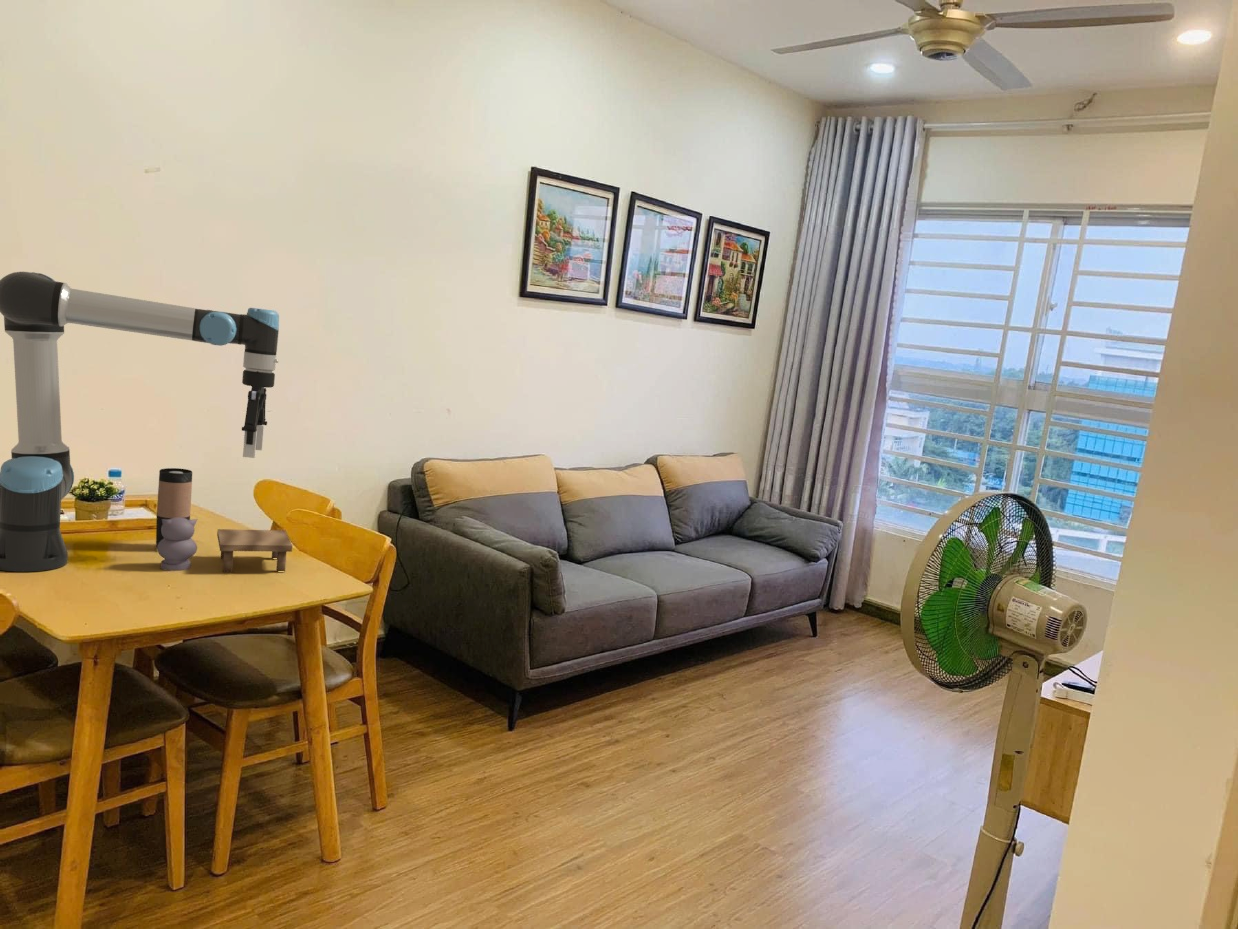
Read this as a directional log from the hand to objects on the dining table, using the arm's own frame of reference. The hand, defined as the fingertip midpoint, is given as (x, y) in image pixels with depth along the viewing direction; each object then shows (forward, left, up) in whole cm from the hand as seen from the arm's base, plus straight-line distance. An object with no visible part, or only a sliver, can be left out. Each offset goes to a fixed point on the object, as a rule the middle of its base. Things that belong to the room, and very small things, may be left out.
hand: (252, 453), depth 232 cm
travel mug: (-17, +4, -26) cm, 32 cm away
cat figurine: (-16, -14, -26) cm, 34 cm away
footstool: (+1, -12, -26) cm, 29 cm away
